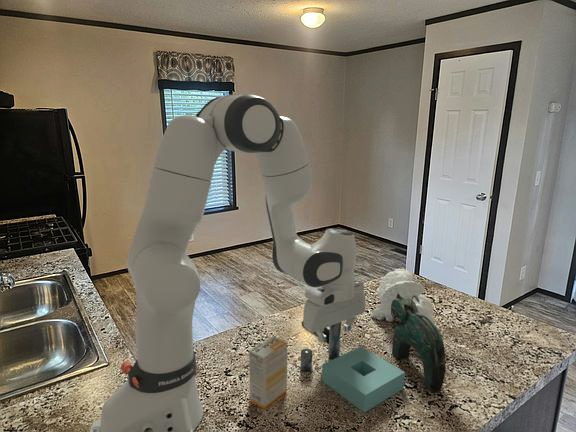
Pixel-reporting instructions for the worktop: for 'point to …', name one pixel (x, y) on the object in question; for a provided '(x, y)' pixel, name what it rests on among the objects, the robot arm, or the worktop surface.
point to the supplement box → (268, 371)
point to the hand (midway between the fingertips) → (334, 336)
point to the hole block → (363, 378)
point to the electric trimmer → (325, 332)
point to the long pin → (334, 341)
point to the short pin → (306, 360)
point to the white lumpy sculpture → (406, 288)
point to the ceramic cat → (418, 340)
